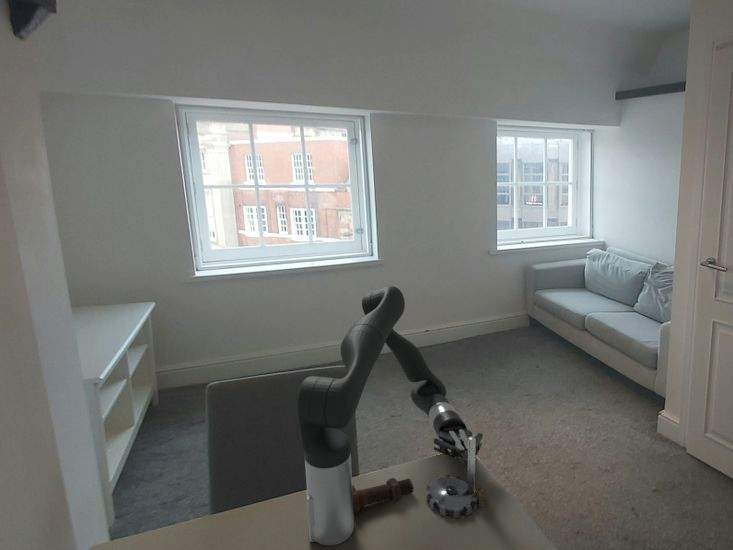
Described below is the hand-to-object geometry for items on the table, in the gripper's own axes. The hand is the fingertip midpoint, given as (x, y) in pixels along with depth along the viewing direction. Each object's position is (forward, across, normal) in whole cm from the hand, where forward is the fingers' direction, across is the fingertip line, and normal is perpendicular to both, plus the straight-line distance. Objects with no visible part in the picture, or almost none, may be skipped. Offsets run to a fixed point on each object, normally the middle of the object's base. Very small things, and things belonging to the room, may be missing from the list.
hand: (472, 464), depth 93 cm
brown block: (+3, +1, +8) cm, 8 cm away
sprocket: (0, -5, +8) cm, 9 cm away
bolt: (-2, -20, +8) cm, 22 cm away
